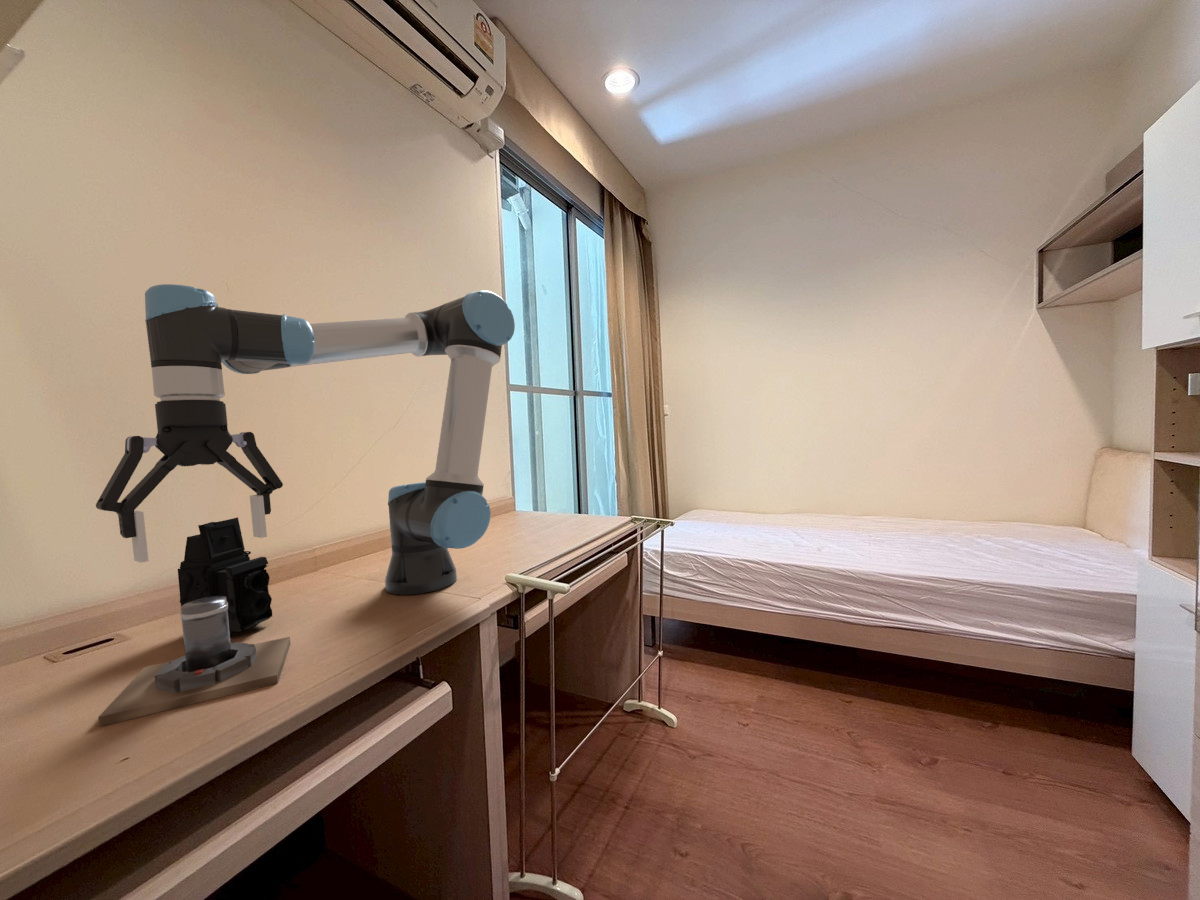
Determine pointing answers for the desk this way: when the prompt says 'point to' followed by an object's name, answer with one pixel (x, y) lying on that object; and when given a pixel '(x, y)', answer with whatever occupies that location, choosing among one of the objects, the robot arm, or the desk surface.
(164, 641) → the desk surface
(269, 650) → the mount board
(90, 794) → the desk surface
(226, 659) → the lens
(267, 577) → the camera
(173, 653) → the desk surface
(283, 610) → the desk surface
